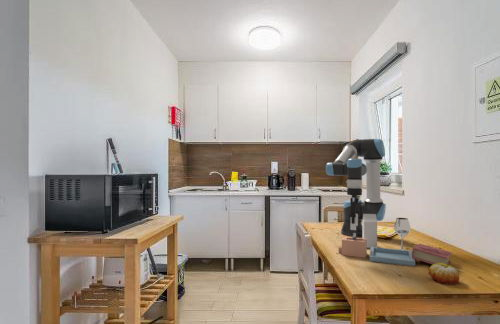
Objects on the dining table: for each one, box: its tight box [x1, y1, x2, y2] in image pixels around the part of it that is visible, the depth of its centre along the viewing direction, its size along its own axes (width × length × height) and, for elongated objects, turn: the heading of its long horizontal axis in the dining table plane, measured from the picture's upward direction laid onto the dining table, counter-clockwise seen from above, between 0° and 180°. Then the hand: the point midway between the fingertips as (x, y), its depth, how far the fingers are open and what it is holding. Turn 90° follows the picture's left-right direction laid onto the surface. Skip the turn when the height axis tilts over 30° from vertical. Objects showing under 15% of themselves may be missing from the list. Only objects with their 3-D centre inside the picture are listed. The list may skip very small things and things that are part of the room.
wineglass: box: [393, 217, 412, 250], centre depth 177 cm, size 8×8×18 cm
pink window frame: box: [338, 236, 368, 258], centre depth 171 cm, size 14×8×8 cm, turn 68°
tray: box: [369, 246, 416, 267], centre depth 163 cm, size 20×20×2 cm
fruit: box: [428, 263, 460, 285], centre depth 132 cm, size 11×10×8 cm
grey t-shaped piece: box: [351, 233, 358, 240], centre depth 170 cm, size 5×2×11 cm, turn 158°
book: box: [411, 243, 453, 266], centre depth 156 cm, size 14×15×5 cm
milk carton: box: [361, 214, 378, 249], centre depth 186 cm, size 7×7×19 cm
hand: (354, 227), depth 170 cm, fingers open, 13 cm apart
